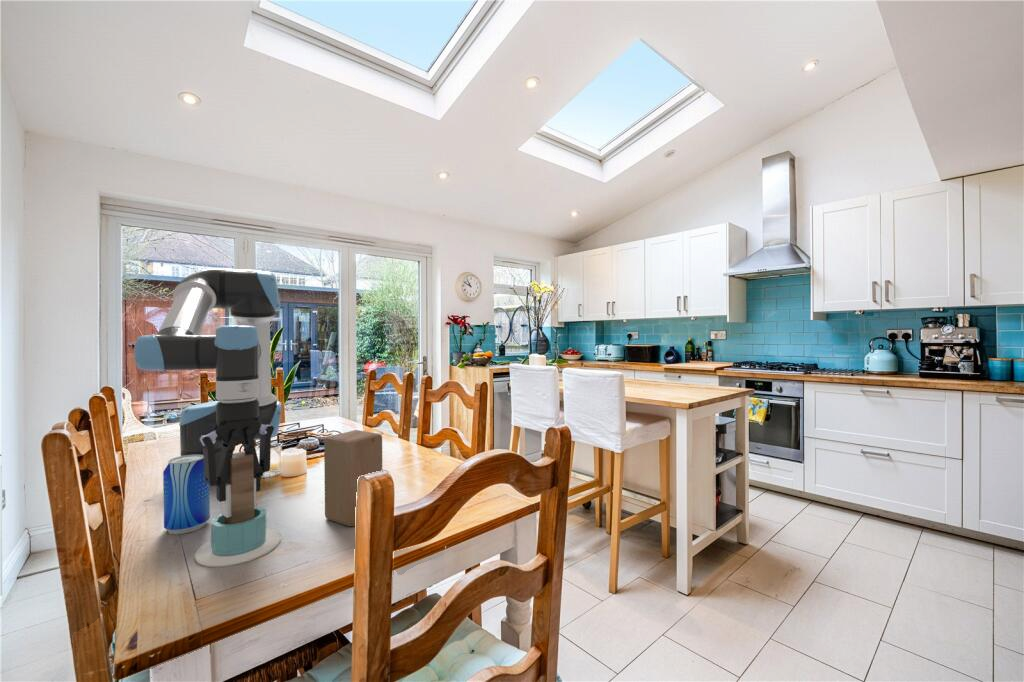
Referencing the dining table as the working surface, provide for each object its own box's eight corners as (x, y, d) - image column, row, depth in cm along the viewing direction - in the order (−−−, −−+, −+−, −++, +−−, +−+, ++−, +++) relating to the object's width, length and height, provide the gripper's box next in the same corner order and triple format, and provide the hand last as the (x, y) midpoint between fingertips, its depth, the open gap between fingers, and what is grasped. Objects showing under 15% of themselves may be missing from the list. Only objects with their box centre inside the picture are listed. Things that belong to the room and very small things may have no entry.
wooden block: (384, 513, 106) (383, 433, 106) (350, 529, 97) (350, 442, 97) (357, 505, 111) (356, 428, 111) (323, 519, 102) (322, 436, 102)
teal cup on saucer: (183, 551, 87) (182, 519, 87) (261, 524, 99) (260, 496, 99) (212, 575, 79) (212, 540, 78) (294, 543, 91) (293, 512, 91)
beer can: (172, 522, 101) (171, 455, 100) (214, 517, 104) (213, 451, 103) (157, 538, 93) (156, 465, 93) (203, 532, 96) (202, 461, 96)
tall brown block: (224, 527, 88) (223, 455, 88) (245, 520, 92) (245, 451, 91) (233, 532, 86) (232, 458, 86) (254, 525, 89) (253, 454, 89)
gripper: (195, 407, 79) (197, 531, 80) (288, 396, 93) (289, 502, 94) (181, 403, 84) (183, 521, 84) (272, 393, 98) (273, 494, 98)
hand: (239, 511), depth 89 cm, fingers closed on tall brown block, 4 cm apart
